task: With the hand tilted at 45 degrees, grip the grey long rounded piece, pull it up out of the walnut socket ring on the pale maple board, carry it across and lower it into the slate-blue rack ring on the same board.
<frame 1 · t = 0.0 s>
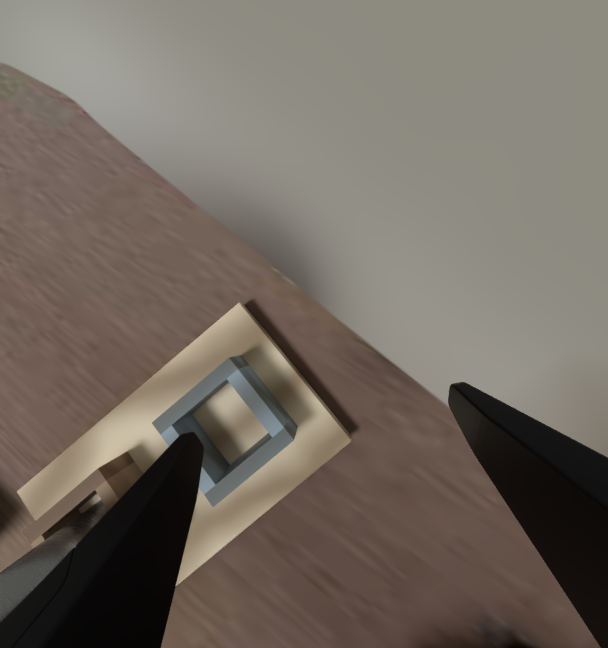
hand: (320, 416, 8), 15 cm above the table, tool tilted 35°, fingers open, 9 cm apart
grey long rounded piece: (119, 515, 22), point 1 cm above the table, touching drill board
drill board: (185, 459, 24), on the table
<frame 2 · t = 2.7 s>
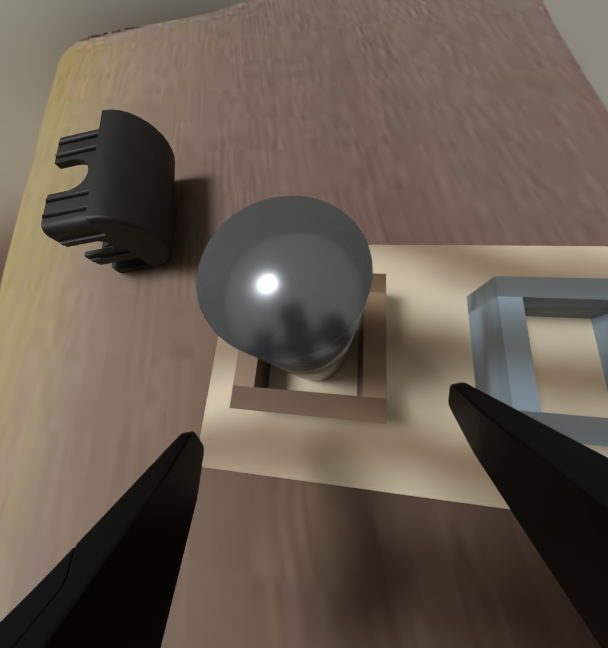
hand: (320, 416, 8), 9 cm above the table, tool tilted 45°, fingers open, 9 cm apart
grey long rounded piece: (314, 347, 17), point 2 cm above the table, touching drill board
end cap: (158, 227, 23), on the table
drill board: (415, 357, 17), on the table
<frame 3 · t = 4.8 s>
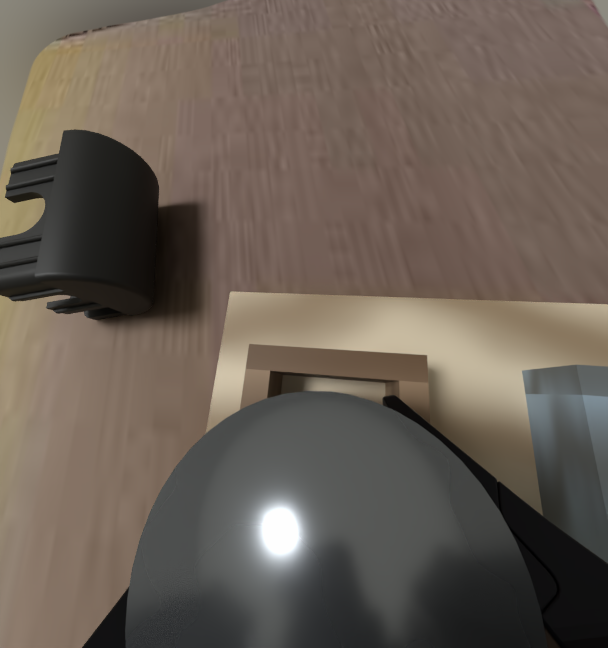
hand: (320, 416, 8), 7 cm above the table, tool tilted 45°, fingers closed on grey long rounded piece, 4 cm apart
grey long rounded piece: (329, 433, 13), point 2 cm above the table, touching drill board, gripper
end cap: (140, 262, 20), on the table
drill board: (455, 442, 14), on the table
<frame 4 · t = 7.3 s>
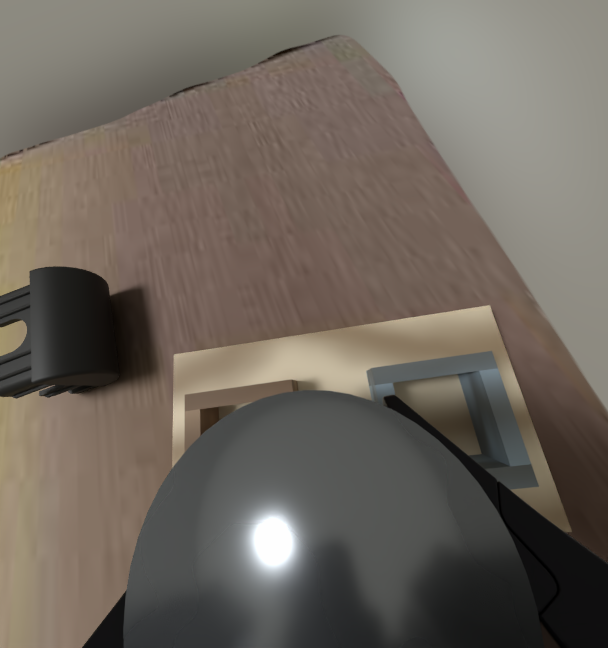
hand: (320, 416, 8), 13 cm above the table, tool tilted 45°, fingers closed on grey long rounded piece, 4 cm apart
grey long rounded piece: (329, 433, 13), point 8 cm above the table, touching gripper
end cap: (104, 341, 26), on the table
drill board: (339, 425, 21), on the table
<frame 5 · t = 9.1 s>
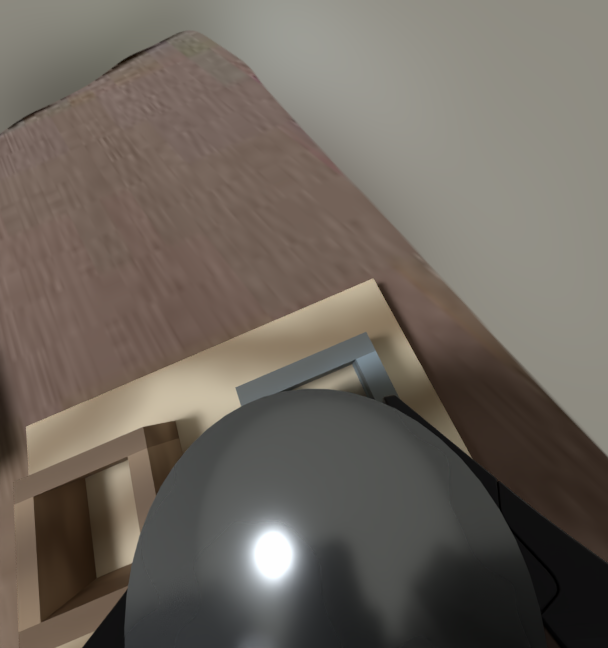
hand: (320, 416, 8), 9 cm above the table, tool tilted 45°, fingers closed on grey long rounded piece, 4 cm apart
grey long rounded piece: (329, 432, 13), point 4 cm above the table, touching gripper
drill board: (239, 459, 17), on the table
when the fingers open (8 cm above the table, at t = 10.3 s): grey long rounded piece stays where it is, resting on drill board.
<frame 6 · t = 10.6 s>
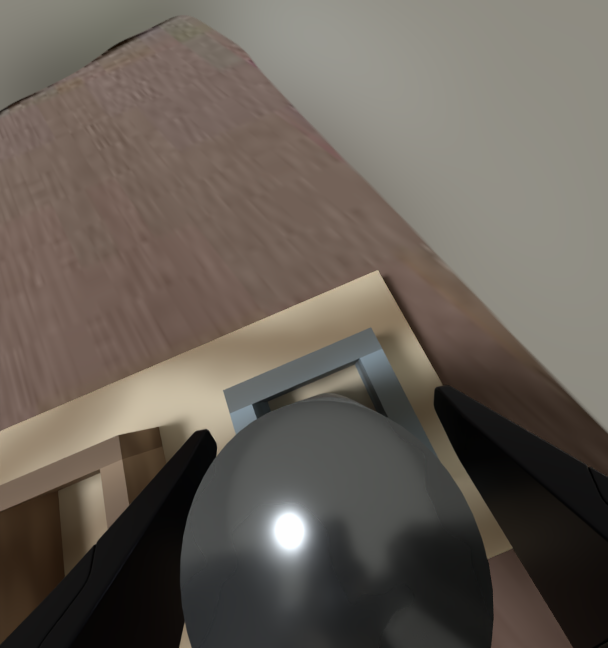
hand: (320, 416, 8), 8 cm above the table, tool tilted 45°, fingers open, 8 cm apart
grey long rounded piece: (330, 432, 14), point 2 cm above the table, touching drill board
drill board: (229, 469, 16), on the table
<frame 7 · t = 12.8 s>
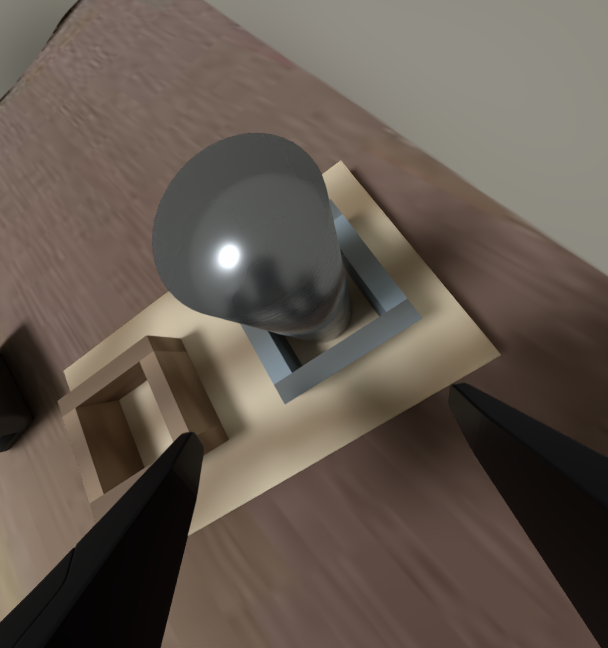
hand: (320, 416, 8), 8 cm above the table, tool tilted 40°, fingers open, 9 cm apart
grey long rounded piece: (318, 309, 16), point 2 cm above the table, touching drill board
end cap: (14, 391, 24), on the table
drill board: (245, 364, 19), on the table
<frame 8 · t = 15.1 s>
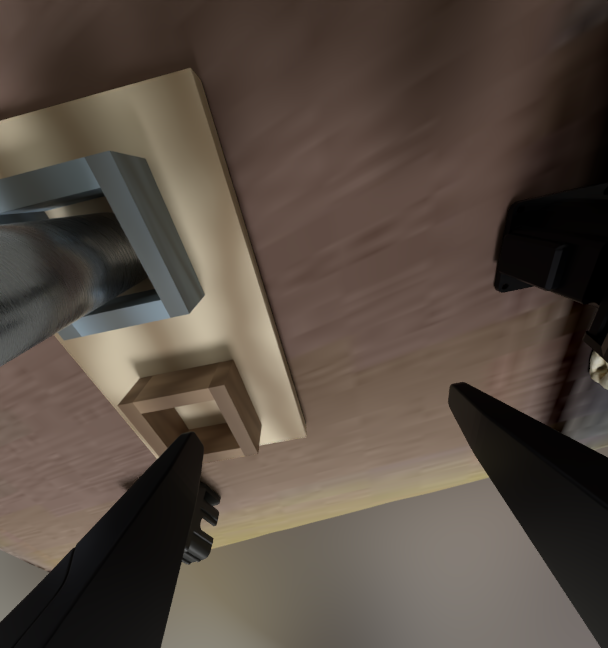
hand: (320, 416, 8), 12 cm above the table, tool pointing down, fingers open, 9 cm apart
grey long rounded piece: (119, 250, 16), point 2 cm above the table, touching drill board
end cap: (178, 492, 32), on the table
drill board: (177, 330, 20), on the table
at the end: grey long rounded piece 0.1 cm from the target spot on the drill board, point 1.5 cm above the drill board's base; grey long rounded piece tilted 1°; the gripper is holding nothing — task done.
